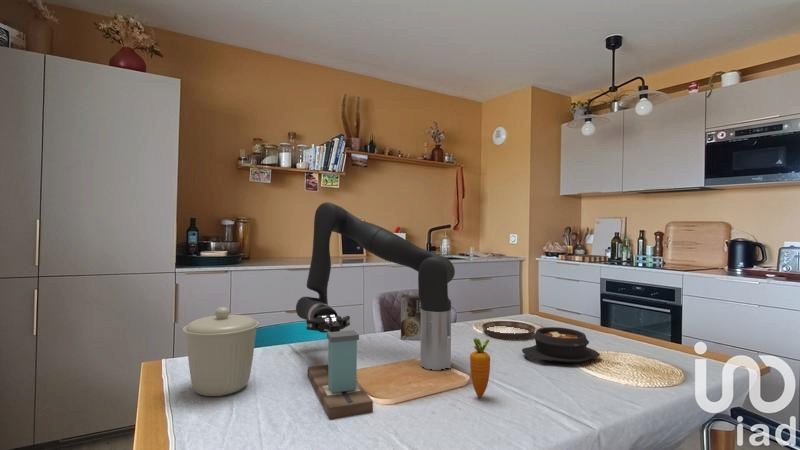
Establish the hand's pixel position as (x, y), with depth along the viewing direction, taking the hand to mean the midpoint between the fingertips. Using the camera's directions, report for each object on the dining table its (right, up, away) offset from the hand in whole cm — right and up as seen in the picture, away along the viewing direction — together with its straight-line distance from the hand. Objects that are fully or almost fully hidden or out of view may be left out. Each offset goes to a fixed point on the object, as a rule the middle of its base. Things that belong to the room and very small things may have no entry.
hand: (336, 329), depth 107 cm
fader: (+3, -12, -8) cm, 15 cm away
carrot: (+37, -16, -5) cm, 40 cm away
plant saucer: (+60, -17, +56) cm, 84 cm away
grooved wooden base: (+1, -15, -3) cm, 16 cm away
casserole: (+69, -16, +27) cm, 76 cm away
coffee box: (+22, -16, +49) cm, 56 cm away
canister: (-29, -15, -1) cm, 33 cm away
